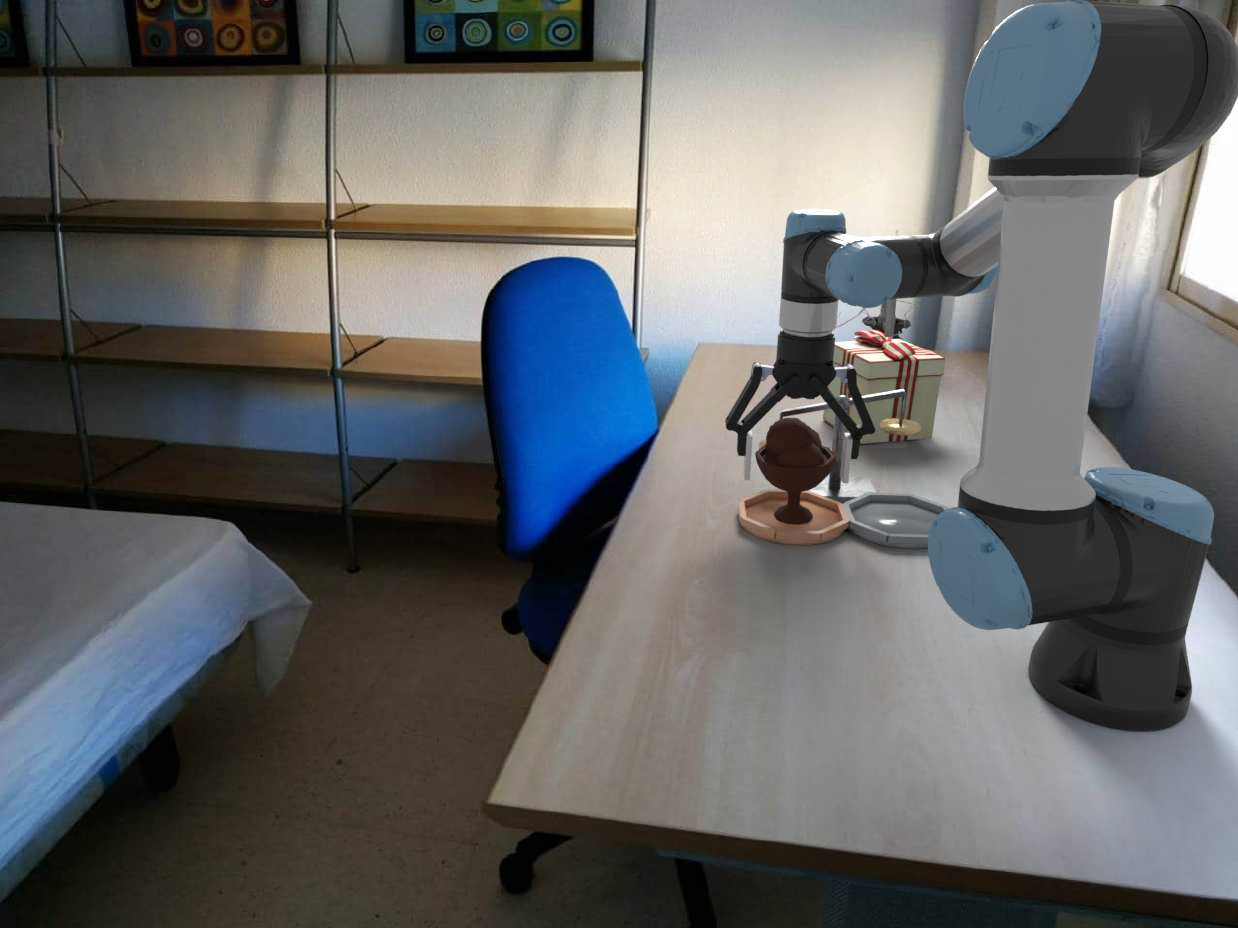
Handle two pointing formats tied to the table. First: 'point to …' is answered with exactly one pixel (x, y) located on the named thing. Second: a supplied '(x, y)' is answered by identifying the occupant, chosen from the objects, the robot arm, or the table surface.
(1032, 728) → the table surface
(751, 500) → the terracotta dish
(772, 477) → the ice cream bowl
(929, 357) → the gift box
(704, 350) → the table surface
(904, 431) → the balance
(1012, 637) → the table surface
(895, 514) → the slate dish
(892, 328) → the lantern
